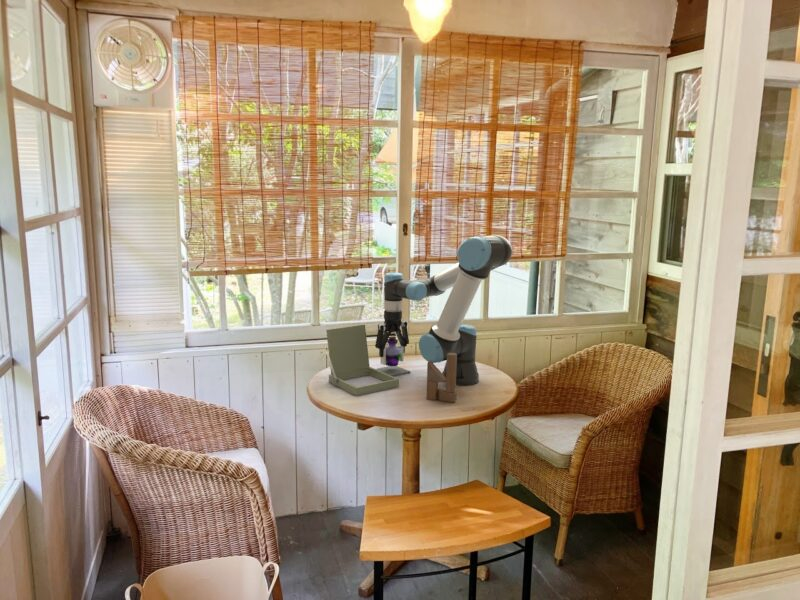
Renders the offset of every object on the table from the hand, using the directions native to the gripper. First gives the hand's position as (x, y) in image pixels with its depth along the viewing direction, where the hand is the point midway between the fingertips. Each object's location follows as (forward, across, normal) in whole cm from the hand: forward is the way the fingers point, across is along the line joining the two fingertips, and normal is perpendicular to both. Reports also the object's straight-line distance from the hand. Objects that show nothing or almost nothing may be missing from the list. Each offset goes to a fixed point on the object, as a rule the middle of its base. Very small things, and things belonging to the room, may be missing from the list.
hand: (392, 362), depth 264 cm
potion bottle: (+1, 0, 0) cm, 1 cm away
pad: (+4, 0, 0) cm, 4 cm away
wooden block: (+4, +5, +38) cm, 39 cm away
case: (+4, +19, +5) cm, 21 cm away
